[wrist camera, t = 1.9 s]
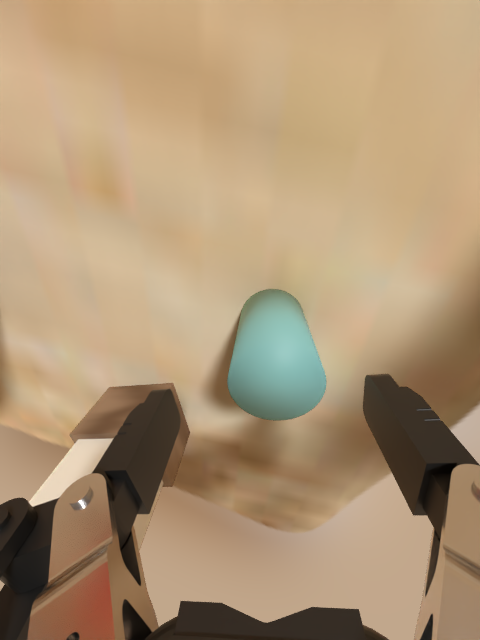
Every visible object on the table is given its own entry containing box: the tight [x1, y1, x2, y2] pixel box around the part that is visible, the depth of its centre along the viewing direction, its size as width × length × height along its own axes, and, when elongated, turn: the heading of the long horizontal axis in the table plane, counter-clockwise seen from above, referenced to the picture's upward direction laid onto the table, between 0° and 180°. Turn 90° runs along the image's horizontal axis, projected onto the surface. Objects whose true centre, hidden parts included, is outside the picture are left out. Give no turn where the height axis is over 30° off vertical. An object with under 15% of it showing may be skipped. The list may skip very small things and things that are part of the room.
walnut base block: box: [70, 383, 190, 487], centre depth 20 cm, size 6×6×5 cm
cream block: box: [29, 438, 164, 550], centre depth 16 cm, size 5×5×5 cm
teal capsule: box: [228, 289, 326, 420], centre depth 14 cm, size 4×4×7 cm
